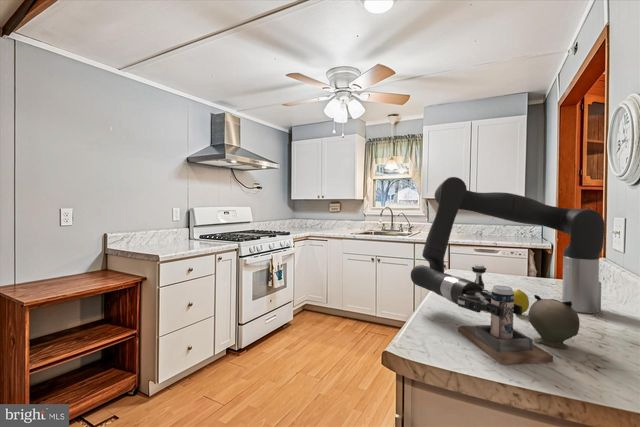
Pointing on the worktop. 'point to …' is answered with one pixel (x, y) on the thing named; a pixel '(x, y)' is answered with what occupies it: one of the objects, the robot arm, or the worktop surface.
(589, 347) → the worktop surface
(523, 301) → the lemon
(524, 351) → the walnut dock
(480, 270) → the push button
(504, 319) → the beer can
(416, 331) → the worktop surface
